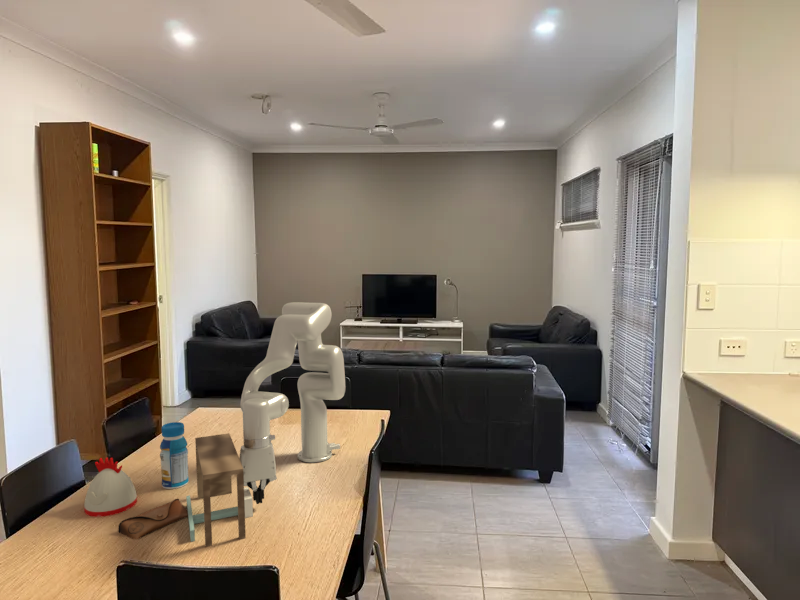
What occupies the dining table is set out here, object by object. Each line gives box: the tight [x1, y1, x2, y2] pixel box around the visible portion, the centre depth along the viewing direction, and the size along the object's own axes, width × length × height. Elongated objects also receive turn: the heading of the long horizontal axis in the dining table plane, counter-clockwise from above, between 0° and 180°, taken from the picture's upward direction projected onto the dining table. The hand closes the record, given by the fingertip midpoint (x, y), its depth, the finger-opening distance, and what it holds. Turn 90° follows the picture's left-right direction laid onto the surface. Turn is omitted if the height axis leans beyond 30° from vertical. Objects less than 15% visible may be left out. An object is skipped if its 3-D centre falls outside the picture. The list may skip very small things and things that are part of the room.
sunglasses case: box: [117, 498, 188, 541], centre depth 149 cm, size 18×7×7 cm
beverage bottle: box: [159, 421, 190, 490], centre depth 173 cm, size 8×8×20 cm
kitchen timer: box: [83, 457, 138, 518], centre depth 159 cm, size 14×14×15 cm
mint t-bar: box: [185, 486, 254, 543], centre depth 152 cm, size 17×22×5 cm
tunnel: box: [194, 432, 247, 548], centre depth 152 cm, size 10×30×19 cm, turn 24°
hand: (258, 501), depth 157 cm, fingers closed
